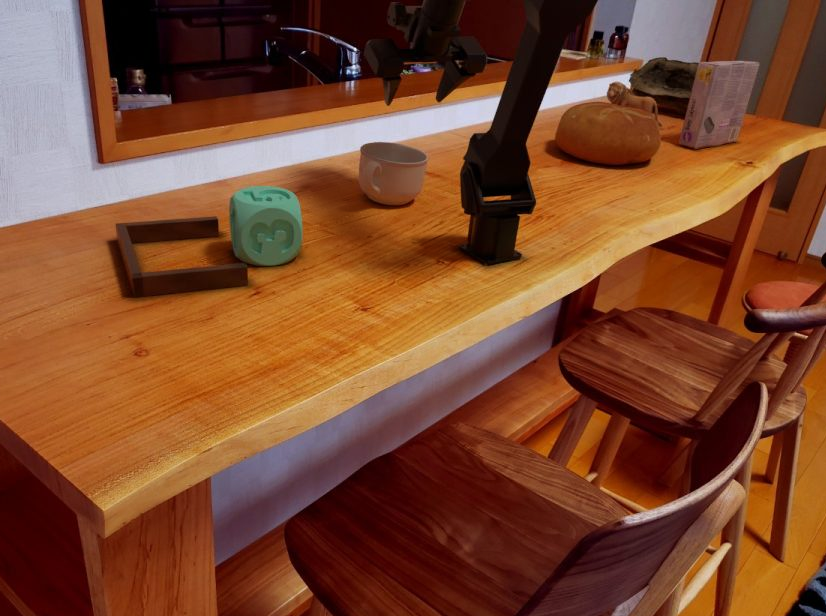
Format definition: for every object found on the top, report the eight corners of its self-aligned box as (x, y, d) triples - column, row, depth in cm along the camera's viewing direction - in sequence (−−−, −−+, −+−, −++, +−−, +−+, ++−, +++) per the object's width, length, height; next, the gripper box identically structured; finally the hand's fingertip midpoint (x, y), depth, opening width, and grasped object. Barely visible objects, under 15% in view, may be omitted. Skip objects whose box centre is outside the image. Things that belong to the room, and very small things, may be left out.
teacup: (385, 184, 128) (389, 137, 124) (437, 201, 122) (442, 152, 118) (330, 202, 118) (331, 151, 114) (383, 220, 113) (386, 168, 109)
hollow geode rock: (721, 143, 192) (755, 97, 193) (714, 111, 182) (750, 62, 183) (629, 115, 210) (661, 73, 210) (618, 85, 200) (651, 40, 200)
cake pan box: (721, 136, 178) (744, 57, 169) (740, 141, 175) (765, 61, 166) (675, 145, 168) (697, 61, 158) (694, 150, 164) (718, 65, 155)
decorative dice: (230, 244, 101) (228, 186, 97) (288, 241, 103) (288, 184, 99) (240, 268, 94) (238, 207, 90) (302, 264, 97) (303, 204, 93)
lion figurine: (598, 120, 184) (607, 81, 180) (604, 116, 188) (612, 79, 184) (659, 130, 179) (669, 91, 174) (663, 126, 183) (673, 88, 178)
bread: (686, 168, 151) (701, 117, 146) (590, 173, 143) (601, 120, 138) (617, 138, 169) (628, 92, 164) (528, 141, 161) (536, 93, 156)
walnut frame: (217, 233, 104) (216, 216, 103) (248, 285, 90) (247, 266, 89) (117, 241, 99) (115, 223, 98) (134, 297, 85) (131, 277, 84)
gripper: (472, -20, 115) (442, 68, 128) (361, -21, 108) (341, 73, 120) (504, 24, 110) (470, 111, 123) (390, 26, 103) (366, 119, 115)
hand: (412, 102), depth 120 cm, fingers open, 9 cm apart
